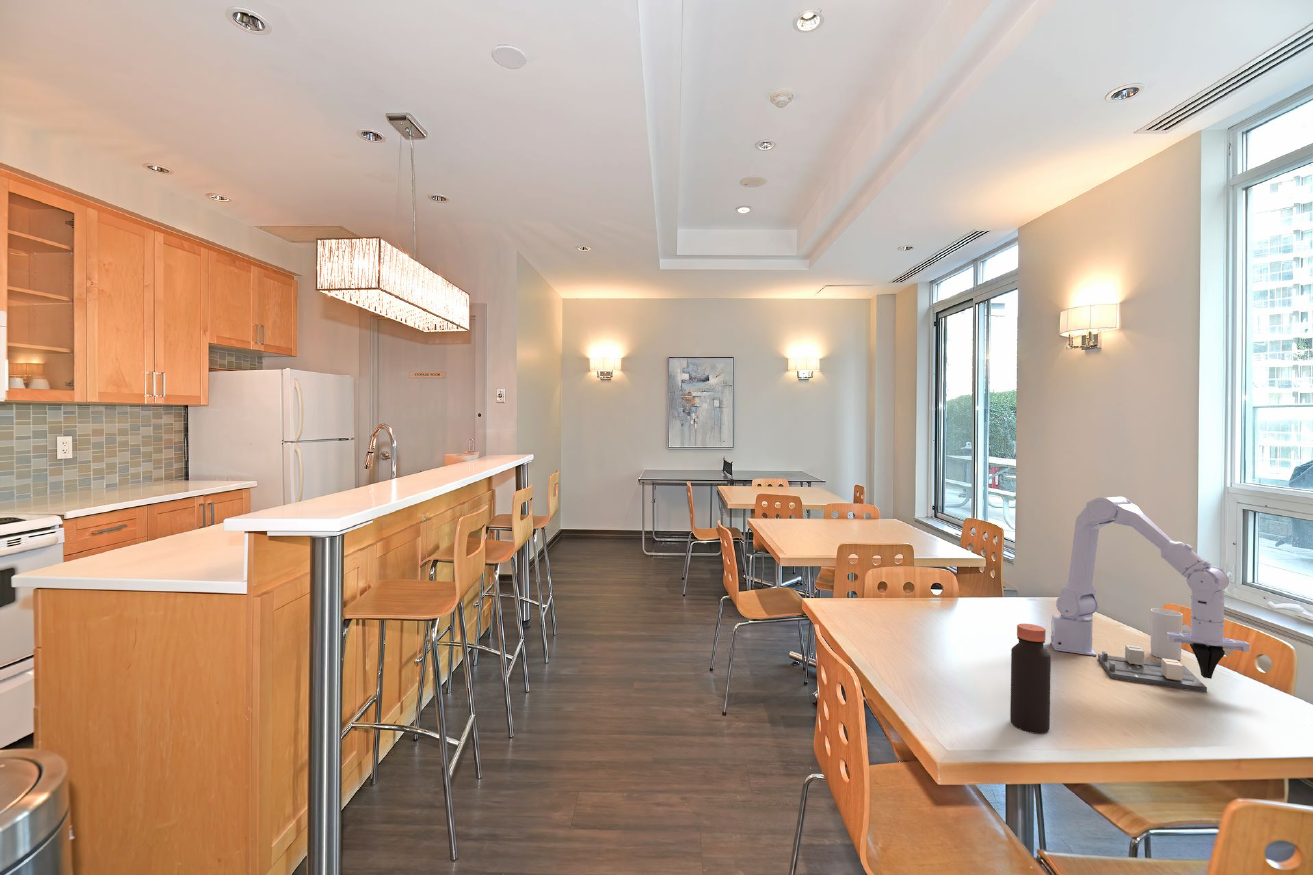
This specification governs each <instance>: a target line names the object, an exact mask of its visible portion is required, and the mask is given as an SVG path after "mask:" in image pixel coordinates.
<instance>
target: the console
mask: <svg viewBox="0 0 1313 875" xmlns="http://www.w3.org/2000/svg"><path fill="white" fill-rule="evenodd" d="M1097 659H1098V661H1099V662H1100V664H1101V665H1102V667H1103V669H1104V670H1105V671H1106V672H1107V674H1108V675H1109V677H1110V679H1113V680H1119V681H1126V682H1127V681H1128V682H1134V683H1140V684H1147V685H1152V686H1161V687H1166V688H1172V689H1179V690H1180V689H1181V690H1186V691H1187V690H1188V691H1194V692H1200V693H1206V694H1207V693H1208V687H1207V686H1206V685H1205V684H1204V683H1203V682H1202V681H1201V680H1200V679H1199V678H1198V677H1197V676H1196V675H1194V673H1192V671H1190V669H1188V667H1187V666H1185V665H1183V681H1181V680H1174V679H1168V678H1166V677H1165V676H1164V675H1163V674H1162V673H1161V667H1162V662H1160V661H1151V660H1145V659H1144V665H1138V664H1130V663H1129V662H1128V661H1127V660H1126V659H1125V657H1123V656H1117V655H1116V656H1115V655H1109V654H1108V652H1107V651H1104V650H1102V651H1101V653H1098V654H1097Z"/></svg>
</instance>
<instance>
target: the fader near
mask: <svg viewBox="0 0 1313 875" xmlns="http://www.w3.org/2000/svg"><path fill="white" fill-rule="evenodd" d="M1161 663H1162V667H1161V673H1162V674H1163V675H1164V676H1165V677H1166V678H1168V679H1174V680H1181V681H1183V666H1184V665H1183V664H1182V663H1180V661H1179V660H1171V659H1163V658H1161Z"/></svg>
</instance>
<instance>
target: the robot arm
mask: <svg viewBox="0 0 1313 875" xmlns="http://www.w3.org/2000/svg"><path fill="white" fill-rule="evenodd" d="M1085 504H1086V505H1085V508H1083V510H1082V511H1081V512H1080V513H1079V514H1078V516H1076V519H1075V523H1074V532H1073V540H1072V548H1071V556H1070V564H1069V574H1068V580H1067V582H1066V584H1064V586H1063V587H1062V588H1061V592H1060V595H1059V596H1058V598H1057V599H1056V601H1055V605H1056V606H1055V607H1056V610H1057V611H1058V613H1059V615H1058V614H1053V615H1052V616H1051V632H1050V634H1051V635H1050V643H1051V645H1052V648H1053V649H1054V651H1058V652H1065V653H1074V654H1079V655H1088V656H1095V657H1096V656H1097V653H1096V651H1095V650H1094V648H1093V631H1094V630H1093V629H1094V628H1093V626H1094V625H1093V624H1094V623H1093V622H1094V621H1093V620H1094V618H1093V617H1094V616H1093V614H1095V613H1096V612H1097V610H1098V608H1099V603H1098V600H1097V596H1096V593H1097V590H1096V589H1095V587H1094V585H1093V581H1094V571H1095V563H1096V556H1097V547H1098V540H1099V532H1100V529H1101V528H1103V527H1105V526H1107V525H1109V524H1111V523H1114V524H1118V525H1121V526H1127V527H1128V526H1129V527H1131V528H1133V529H1134V530H1135V531H1136V532H1138V533H1139V534H1140V535H1142V536H1143V537H1144V538H1145V539H1147V541H1149V542H1150V543H1152V544H1153V545H1154V546H1155V547H1157V549H1159V550H1160V556H1161V559H1163V560H1164V561H1166V562H1167V563H1168V564H1169V565H1170V566H1171V567H1172V568H1173V569H1174V570H1176V571H1177V572H1178V573H1179V574H1180V575H1181V576H1182V577H1184V578H1186V584H1187V586H1188V587H1189V588H1190V590H1191V607H1190V608H1191V610H1190V616H1191V617H1190V618H1191V619H1190V633H1188V632H1187V633H1186V632H1182V633H1171V632H1167V641H1169V642H1172V643H1175V642H1178V643H1182V644H1188V645H1189V646H1190V648H1191V650H1192V652H1193V654H1194V656H1195V659H1196V661H1197V663H1198V666H1199V672H1200V675H1201V677H1202V678H1204V679H1209V680H1210V679H1212V677H1213V675H1214V671H1215V669H1216V667H1217V665H1218V663H1219V662H1220V661H1221V659H1222V658H1224V656H1225V655H1226V654H1225V653H1226V651H1225V650H1224V649H1227V650H1236V651H1242V652H1245V653H1249V652H1250V643H1249V642H1247V641H1245V640H1237V639H1233V638H1226V637H1224V632H1225V631H1224V630H1225V629H1224V624H1225V590H1226V589H1227V588H1228V586H1229V585H1230V584H1229V583H1230V580H1229V577H1228V575H1227V574H1226V572H1224V570H1223V569H1222V568H1220V567H1219V566H1214V565H1212V564H1213V563H1211V562H1210V561H1209V560H1205V559H1203V558H1202V557H1201V556H1200V555H1199V554H1198V553H1197V552H1195V551H1194V546H1192V545H1191V544H1189V543H1187V544H1186V543H1184V542H1182V541H1175V540H1173V539H1172V538H1170V537H1169V536H1168V535H1167V534H1166V532H1164V531H1163V530H1162V529H1161V528H1160V527H1159V526H1157V525H1156V524H1155V523H1154V522H1153V521H1152V520H1151V519H1150V518H1149V517H1148V516H1147V515H1146V514H1145V513H1143V511H1142V510H1141V509H1140V507H1139V506H1138V505H1136V504H1134V503H1132V502H1131V500H1129V499H1128V498H1126V497H1124V496H1122V495H1121V496H1117V495H1116V496H1112V497H1111V496H1109V497H1108V496H1107V497H1102V496H1101V497H1100V496H1099V497H1095V498H1094V499H1092V500H1089V501H1086V503H1085Z"/></svg>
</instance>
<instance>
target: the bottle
mask: <svg viewBox="0 0 1313 875" xmlns="http://www.w3.org/2000/svg"><path fill="white" fill-rule="evenodd" d="M1016 636H1017V638H1016V639H1018V642H1017V643H1016V644H1015V645H1014V646H1012V647H1011V651H1010V652H1011V654H1010V707H1009V708H1010V710H1009V711H1010V714H1009V716H1010V717H1009V718H1010V719H1009V720H1010V723H1011V725H1013V726H1014V727H1015V728H1017V729H1019V730H1021V731H1024V732H1028V733H1032V734H1047V733H1048V732H1049V730H1051V729H1050V726H1051V725H1050V724H1051V721H1050V720H1051V672H1052V670H1051V666H1052V665H1051V664H1052V660H1051V658H1052V657H1051V653H1050V652H1049V651H1048V650H1047V648H1045V647H1044V644H1045V643H1046V628H1045V627H1043V626H1041V625H1038V624H1033V623H1018V624H1016Z"/></svg>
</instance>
